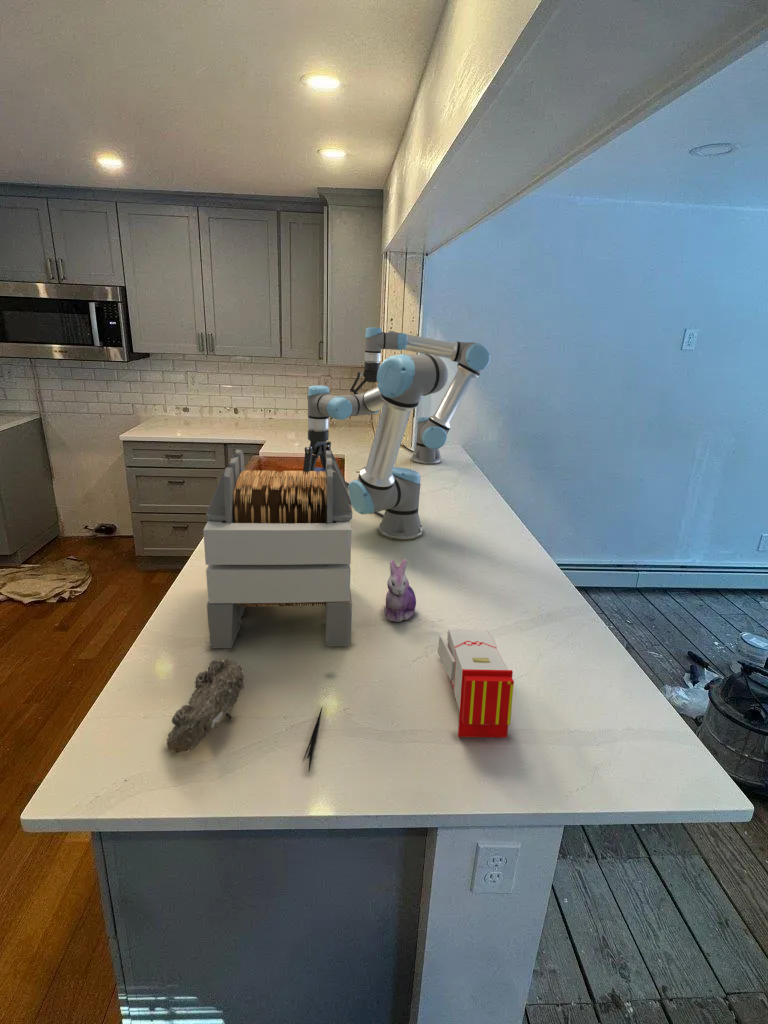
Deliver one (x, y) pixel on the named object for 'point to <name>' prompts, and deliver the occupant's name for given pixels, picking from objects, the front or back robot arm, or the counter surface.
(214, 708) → the fossil
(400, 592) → the figurine
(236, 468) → the gray record crate
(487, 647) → the toy
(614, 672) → the counter surface
